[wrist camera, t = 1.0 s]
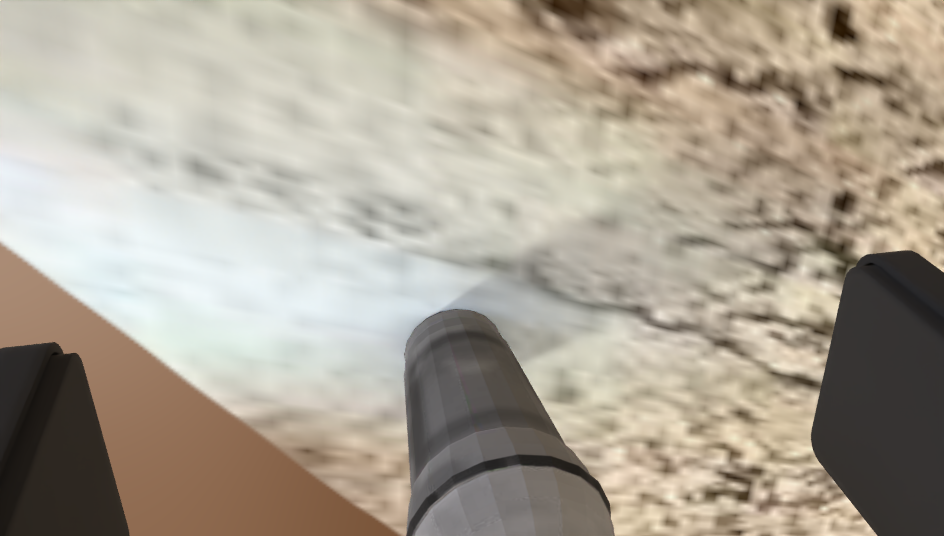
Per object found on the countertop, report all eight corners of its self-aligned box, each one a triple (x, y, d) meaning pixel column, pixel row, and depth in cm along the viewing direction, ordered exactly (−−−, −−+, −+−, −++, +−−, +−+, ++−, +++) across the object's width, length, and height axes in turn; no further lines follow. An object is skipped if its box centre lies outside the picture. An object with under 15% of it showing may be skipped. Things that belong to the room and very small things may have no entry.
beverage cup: (464, 438, 43) (588, 883, 25) (341, 373, 39) (385, 829, 22) (562, 331, 41) (769, 733, 23) (440, 253, 38) (574, 651, 20)
